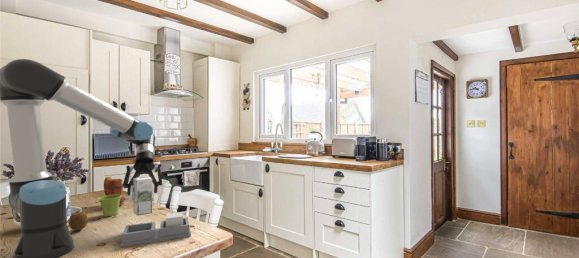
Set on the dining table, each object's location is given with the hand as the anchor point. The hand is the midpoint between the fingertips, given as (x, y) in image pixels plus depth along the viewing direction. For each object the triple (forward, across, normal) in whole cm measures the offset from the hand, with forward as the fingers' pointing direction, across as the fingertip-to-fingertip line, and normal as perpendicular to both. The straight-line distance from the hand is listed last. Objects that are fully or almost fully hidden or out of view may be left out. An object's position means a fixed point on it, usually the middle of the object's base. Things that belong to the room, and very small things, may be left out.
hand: (142, 200), depth 114 cm
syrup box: (+2, 0, -7) cm, 7 cm away
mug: (-27, +18, -44) cm, 55 cm away
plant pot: (-13, +16, -31) cm, 37 cm away
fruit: (0, +24, -18) cm, 30 cm away
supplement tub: (-12, +36, -30) cm, 48 cm away
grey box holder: (+15, -6, -3) cm, 16 cm away
